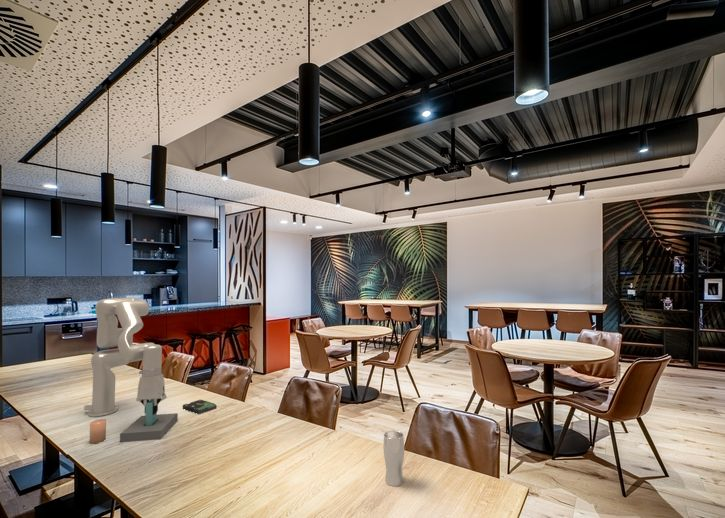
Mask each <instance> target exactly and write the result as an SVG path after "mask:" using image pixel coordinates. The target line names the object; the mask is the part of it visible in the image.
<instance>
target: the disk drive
mask: <svg viewBox="0 0 725 518" xmlns="http://www.w3.org/2000/svg"><path fill="white" fill-rule="evenodd" d="M184 409H185V411H187V410H188V412H190V411H191V412H190V413H193V412H194V413H193V414H196V413H197V414H196V415H201V413H202V414H204V412H205V413H208V412H210V411H212V410H216V409H217V404H216V403H214V402H210V401H208V400H204V399H198V400H193V401H192V402H189V403H185V404H182V410H184Z"/></svg>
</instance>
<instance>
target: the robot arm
mask: <svg viewBox="0 0 725 518" xmlns="http://www.w3.org/2000/svg"><path fill="white" fill-rule="evenodd" d="M149 313H150V306H149V303H148V301H146V300H145V299H141V298H138V297H137V298H136V297H111V298H103V299H101V300H98V302H96V305H95V316H96V319H97V329H96V331H97V332H96V346H97V347H98V348H99V349H105V350H99V351H97V352H95V353H93V354H92V356H91V359H90V362H91V369H92V395H91V397H92V398H91V402H92V403H91V404H84V407H83V411H88V410H89V411H88V412H87V415H88V417H91V418H92V417H95V418H96V417H103V416H108V415H111V414H114V413H116V412H117V411H119V407H118V405H116V404H115V403H116V374H115V373H114V371H112V369H113V368H117V367H122V366H125V365H128V364H130V363H133V362H139V361H142V369H141V370H139V372H138V374H141V376H140V377H139V380H138V386H137V395H136V398H135V401H136V402H138V403H141V404H142V405H143V407H145V404H146V403H147V402H148V401H149V400H150V399H154V406H153V415H154V414H156V413H157V414H158V411H159V403H160V402H161V401H164V400H166V399H167V398H168V397H167V394H166V391H165V390H166V387H165V378H164V374H163V373H162V370H163V369H162V364H163V362H162V361H163V357H162V356H163V354H162V353H163V347H162V345H160V344H155V343H154V342H144V343H137V344H134V343H133V341H134V340H133V339H134V334H136V333H138V332H139V331H140V330H142V329H143V327H144V322H143V320H142V318H141V317H144V316H147V315H148V314H149ZM119 323H120V326H121V327H118V326H119ZM115 347H116V348H115ZM109 348H111V349H109ZM144 415H146V410H145V409H144Z"/></svg>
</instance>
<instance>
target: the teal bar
mask: <svg viewBox="0 0 725 518" xmlns="http://www.w3.org/2000/svg"><path fill="white" fill-rule="evenodd" d="M153 406H154V399H150V400H149V401H148V402H147V403H146V404H145V406H144V411H145V410H146V426H152V425H153V424H154V423H155V422H156V421H157V415H158V412H157V413H156V414H154V415H153Z"/></svg>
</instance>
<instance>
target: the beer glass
mask: <svg viewBox="0 0 725 518" xmlns="http://www.w3.org/2000/svg"><path fill="white" fill-rule="evenodd" d="M382 446H383V457H384V462H385V469H386V471H385V478H384V479H385V484H387V485H389V486H391V487H399V486H401V485H403V484H404V475H403V465H404V457H405V440H404V434H403V432H401V431H398V430H388V431H386V432H384V434H383V445H382Z"/></svg>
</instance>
